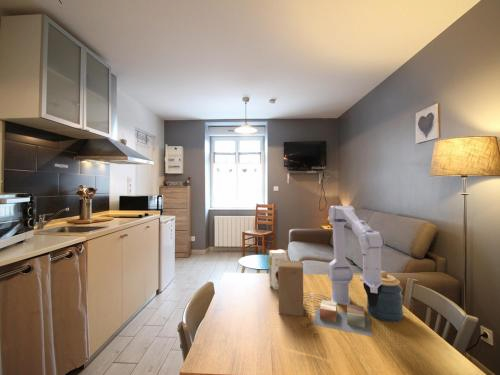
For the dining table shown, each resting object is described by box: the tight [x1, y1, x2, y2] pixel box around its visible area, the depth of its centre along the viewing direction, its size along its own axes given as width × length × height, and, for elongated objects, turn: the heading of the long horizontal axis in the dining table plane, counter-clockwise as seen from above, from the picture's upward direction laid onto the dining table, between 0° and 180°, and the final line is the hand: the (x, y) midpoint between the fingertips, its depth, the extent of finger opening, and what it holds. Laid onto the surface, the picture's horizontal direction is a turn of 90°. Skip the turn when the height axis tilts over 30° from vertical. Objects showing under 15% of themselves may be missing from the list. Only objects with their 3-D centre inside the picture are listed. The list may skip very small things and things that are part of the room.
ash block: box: [319, 299, 338, 322], centre depth 96 cm, size 4×6×8 cm
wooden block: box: [277, 259, 304, 317], centre depth 101 cm, size 10×10×20 cm
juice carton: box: [268, 248, 288, 291], centre depth 126 cm, size 8×9×19 cm
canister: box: [366, 270, 404, 323], centre depth 97 cm, size 13×13×18 cm
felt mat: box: [312, 307, 373, 337], centre depth 92 cm, size 14×20×1 cm
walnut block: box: [346, 303, 366, 327], centre depth 92 cm, size 4×6×8 cm
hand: (372, 305), depth 83 cm, fingers closed
